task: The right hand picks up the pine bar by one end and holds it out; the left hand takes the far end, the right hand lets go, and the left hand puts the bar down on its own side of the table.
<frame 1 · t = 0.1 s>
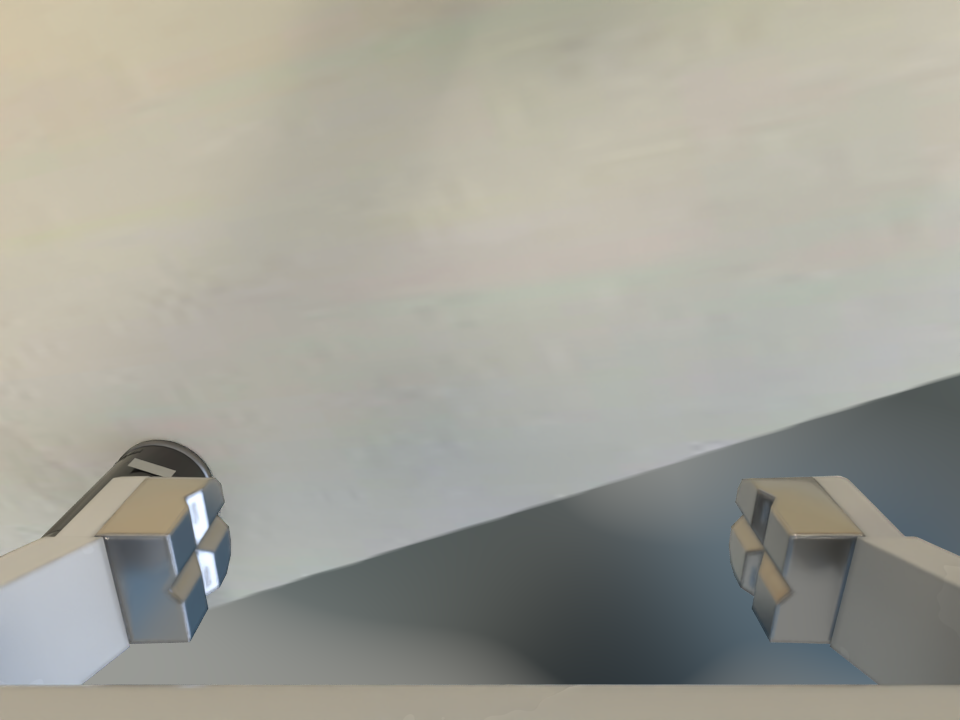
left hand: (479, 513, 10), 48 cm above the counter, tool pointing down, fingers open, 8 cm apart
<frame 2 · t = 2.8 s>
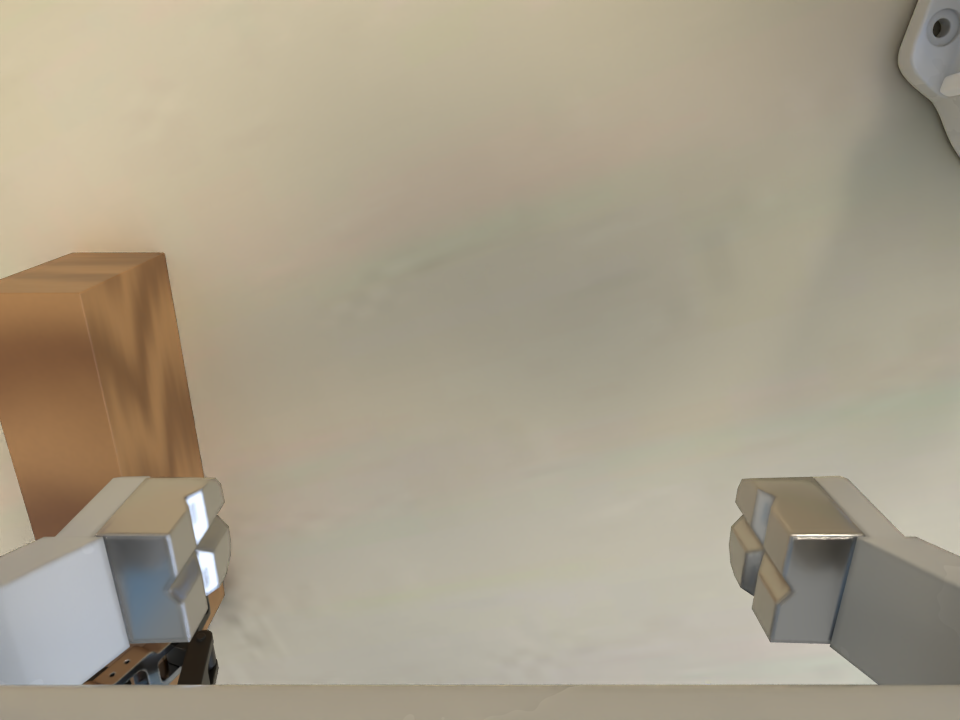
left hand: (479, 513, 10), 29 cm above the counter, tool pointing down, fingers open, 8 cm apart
bar: (156, 441, 42), on the counter, touching right hand
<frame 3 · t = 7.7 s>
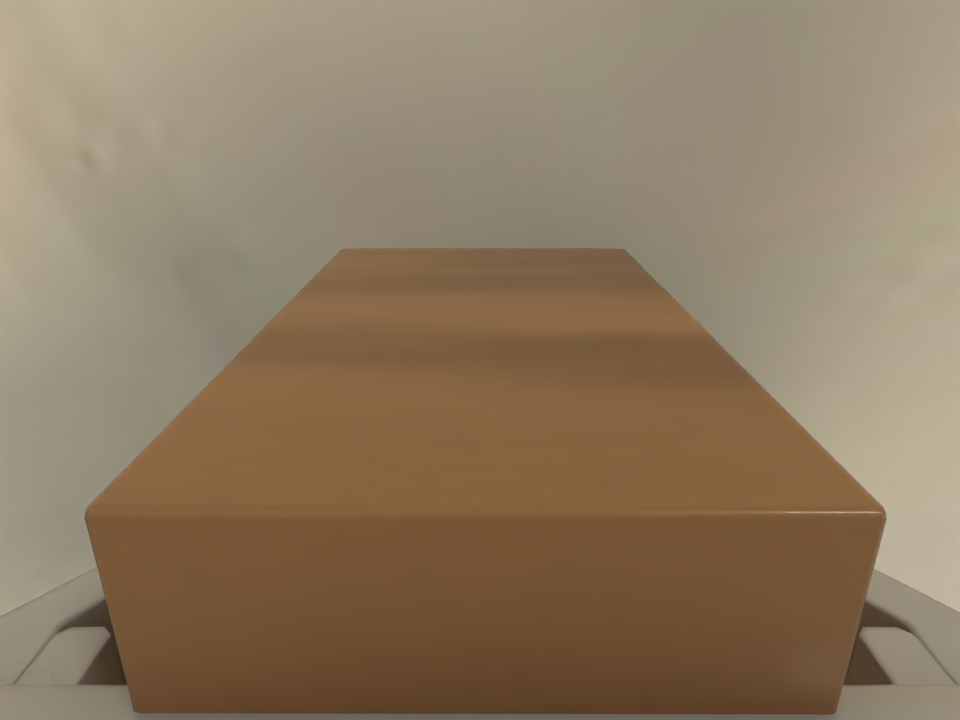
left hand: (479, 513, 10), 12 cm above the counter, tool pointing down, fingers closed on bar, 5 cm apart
when the left hand's fingers open (5 cm above the counter, at t = 14.6 s): bar stays where it is, on the counter.
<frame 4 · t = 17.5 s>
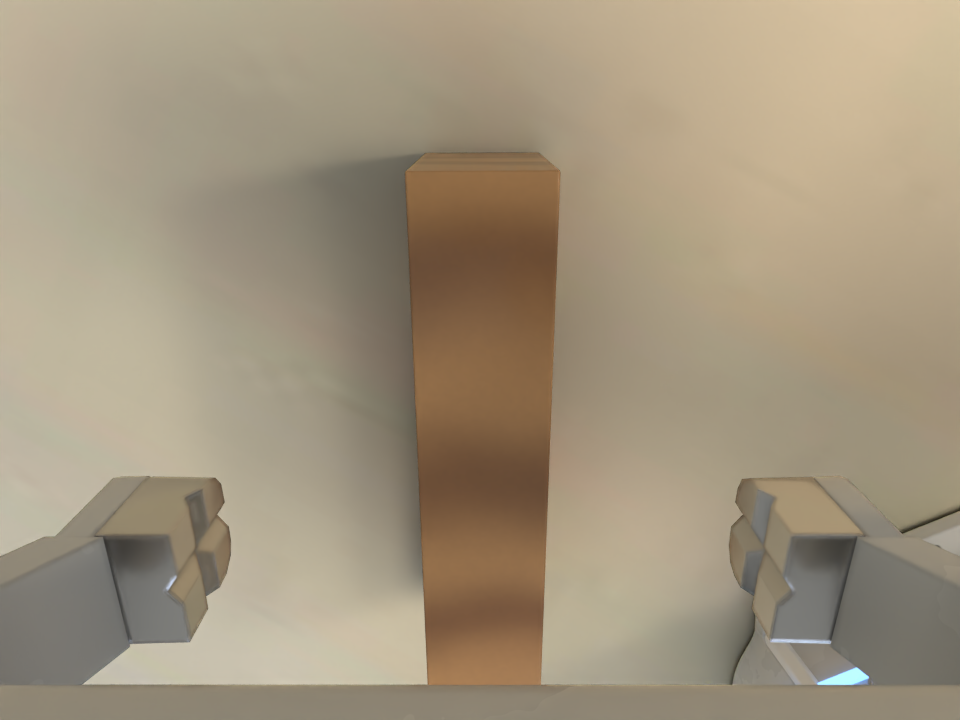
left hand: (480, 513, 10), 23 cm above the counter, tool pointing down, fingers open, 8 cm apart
bar: (482, 393, 35), on the counter
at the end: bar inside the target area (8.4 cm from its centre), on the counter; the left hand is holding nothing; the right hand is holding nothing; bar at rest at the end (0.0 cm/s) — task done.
